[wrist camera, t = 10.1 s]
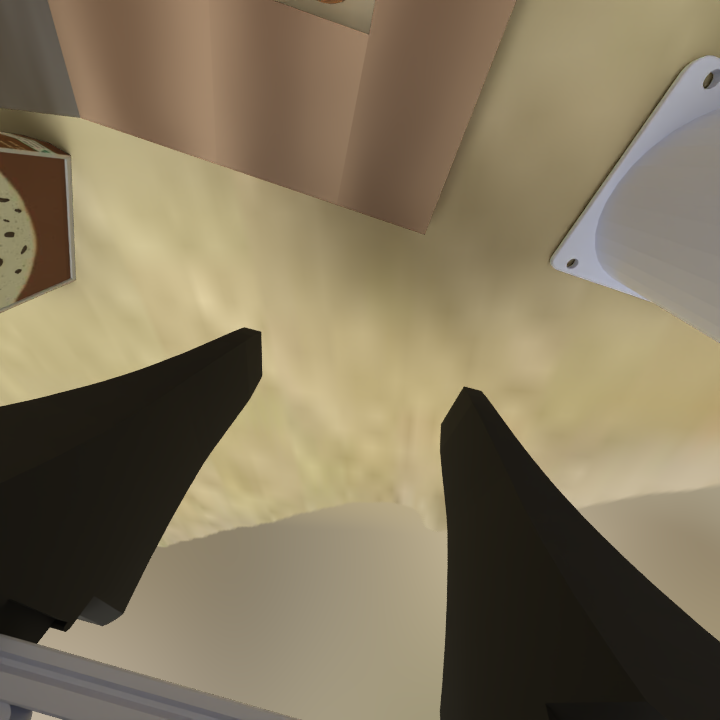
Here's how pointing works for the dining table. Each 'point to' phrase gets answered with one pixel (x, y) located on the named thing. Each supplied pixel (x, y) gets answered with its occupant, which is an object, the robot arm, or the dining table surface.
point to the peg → (330, 1)
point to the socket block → (268, 87)
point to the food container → (34, 219)
